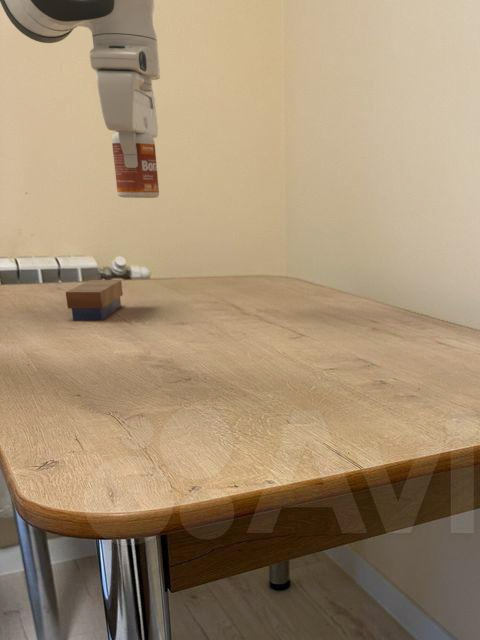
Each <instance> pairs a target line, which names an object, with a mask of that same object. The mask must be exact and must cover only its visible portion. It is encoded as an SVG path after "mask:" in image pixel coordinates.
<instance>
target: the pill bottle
mask: <svg viewBox="0 0 480 640" xmlns="http://www.w3.org/2000/svg"><path fill="white" fill-rule="evenodd" d="M144 123H145V128H146V129H148V121H147V118H146V117H144ZM111 146H112V155H113V164H114V172H115V173H114V174H115V182H116V191H117V195H118V197H120V198H128V199H129V198H131V199H154V198H158V197H159V196H160V191H159V190H160V188H159V177H158V165H157V155H156V143H155V138H153V137H152V136H151V135H149V134H148V133H147V131H146V132H145V133H143V134H139V133H136V149H137V155H138V157H139V167H138V168H127V167H126V166H125V162H124V154H123V151H122V148H121V144H120V141H119V132H114V134H113V135H112V137H111Z"/></svg>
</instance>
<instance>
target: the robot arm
mask: <svg viewBox="0 0 480 640" xmlns="http://www.w3.org/2000/svg"><path fill="white" fill-rule="evenodd" d="M0 5H1V7H2V9H3V11H4V14H5V15H6V16H7V18H8V20H9V21H10V22H11V24H12V25H13V26H14V27H15V28H16V30H17V31H19V32H20V33H21V34H23V35H24V36H26V37H27V38H29V39H30V40H32V41H36V42H38V43H42V44H43V43H44V44H55V43H58V42H61V41H63V40H65V39H66V38H67V37H68V36H69V35H70V34H71V33H72V32H73V31H74V29H76V28H78V27H83V28H88V29H89V31H90V32H91V37H92V45H93V46H92V47H93V48H92V49H90V51H89V61H90V62H89V63H90V66H91V69H92V70H93V71H95V72H96V75H95V76H96V84H97V91H98V97H99V102H100V108H101V113H102V118H103V121H104V124H105V126H106V129H107V130H108V131H112V132H114V133H117V132H119V141H120V144H121V148H122V151H123V154H124V162H125V166H126V167H127V168H138V167H139V157H138V155H137V149H136V133H139V134H143V133H145V132H146V131H147V133H148V134H149V135H151V136H152V137H153V139H156V138H158V133H159V127H158V126H159V125H158V118H157V117H158V116H157V109H156V100H155V94H154V93H155V92H154V90H153V81H157V80H160V78H161V71H160V59H159V45H158V38H157V34H156V32H155V28H154V22H153V19H154V11H155V0H0ZM144 117H146V118H147V121H148V129H146V128H145V123H144Z"/></svg>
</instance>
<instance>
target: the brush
mask: <svg viewBox="0 0 480 640" xmlns="http://www.w3.org/2000/svg"><path fill="white" fill-rule="evenodd" d="M122 283H123V282H122V280H121V279H88V281H85V282H84V283H81V284H79V285H77V286H75V287H73V288H71V289H69V290H67V291H65V297H66V298H65V299H66V304H67V309H69V310H70V309H71V314H72V315H71V316H72V321H103V320H105V319H106V318H108V317H109V316H110V315H111V314H113V313H114V312H116V311H117V310H119V308H121V307H122V302H121V297H123V295H124V294H123V293H124V292H123V285H122Z"/></svg>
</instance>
